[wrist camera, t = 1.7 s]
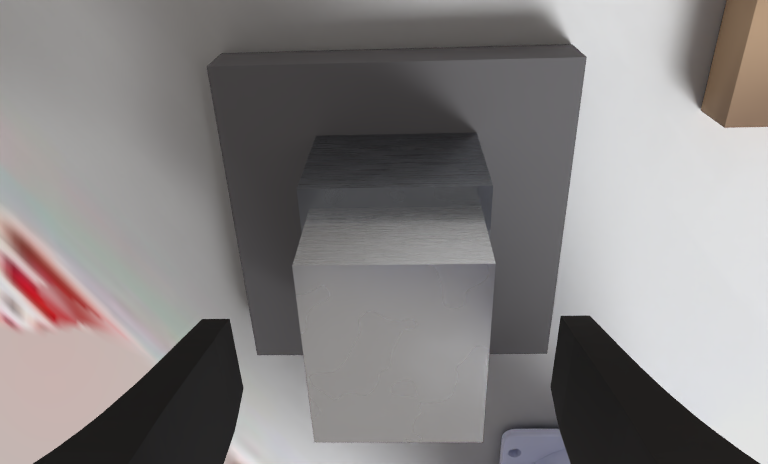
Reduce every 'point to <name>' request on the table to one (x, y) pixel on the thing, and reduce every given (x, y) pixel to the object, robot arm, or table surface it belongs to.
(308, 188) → the housing
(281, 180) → the stand
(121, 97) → the table surface
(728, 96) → the stand
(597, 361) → the robot arm
